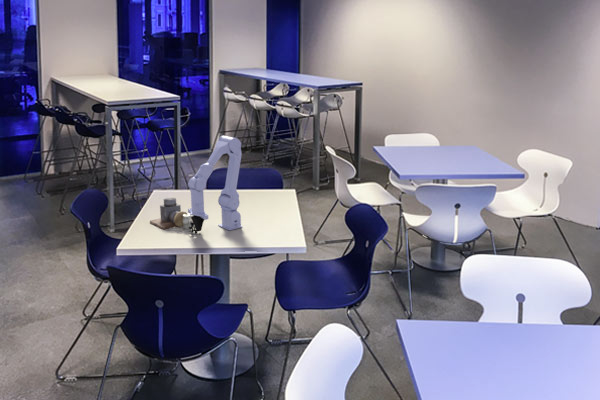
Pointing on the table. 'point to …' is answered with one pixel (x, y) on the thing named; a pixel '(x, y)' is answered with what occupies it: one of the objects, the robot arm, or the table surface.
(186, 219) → the valve
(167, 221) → the pipe stand
